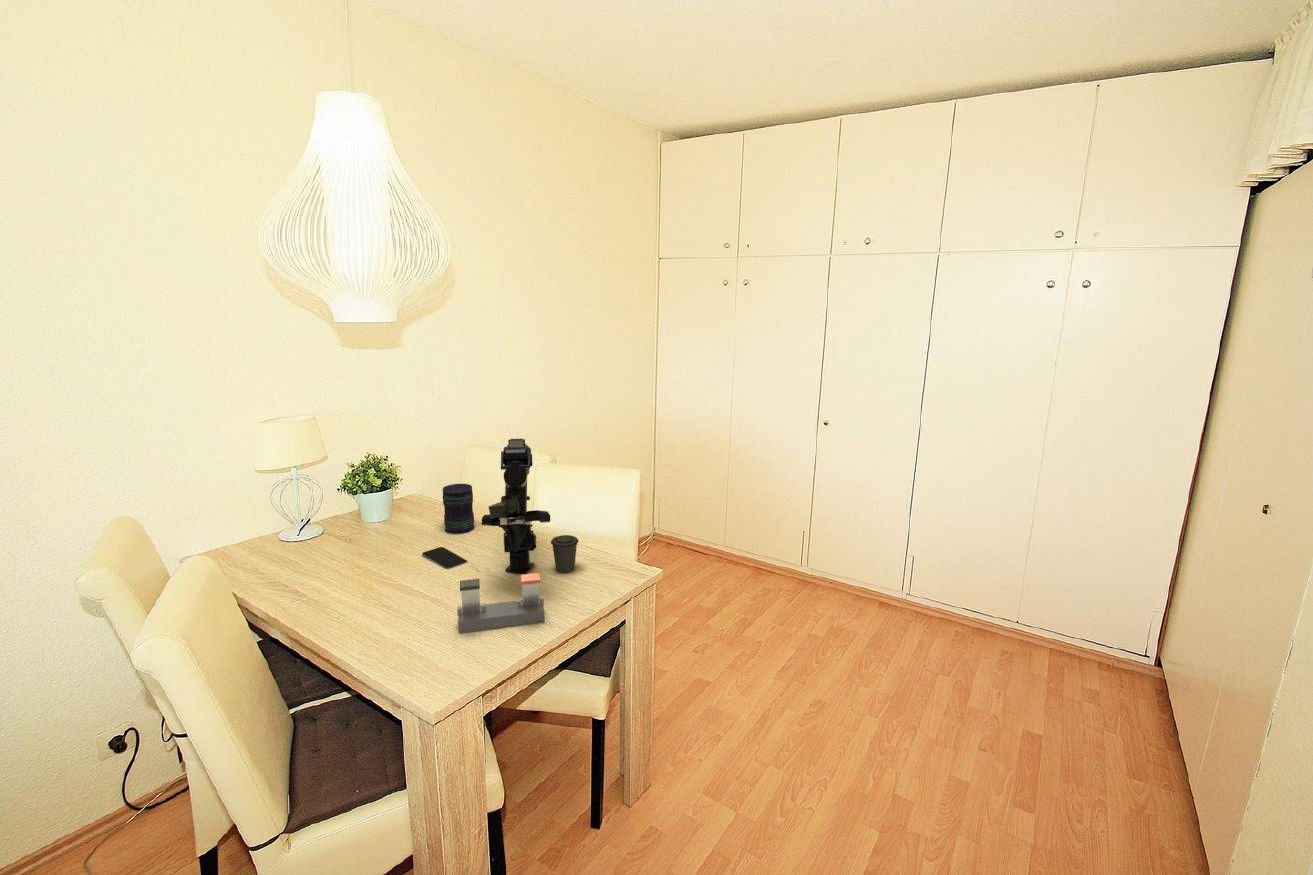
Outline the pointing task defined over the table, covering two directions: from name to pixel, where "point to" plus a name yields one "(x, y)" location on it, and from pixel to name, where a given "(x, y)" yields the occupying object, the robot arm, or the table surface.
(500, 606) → the switch box
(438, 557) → the smartphone
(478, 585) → the cream dark-capped block
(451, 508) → the storage jar
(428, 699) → the table surface
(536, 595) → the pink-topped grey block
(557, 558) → the coffee cup
